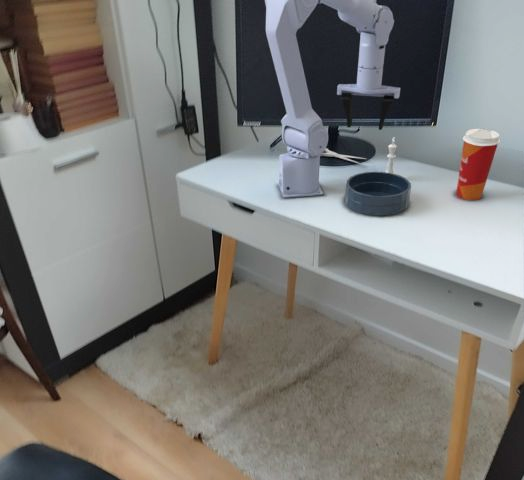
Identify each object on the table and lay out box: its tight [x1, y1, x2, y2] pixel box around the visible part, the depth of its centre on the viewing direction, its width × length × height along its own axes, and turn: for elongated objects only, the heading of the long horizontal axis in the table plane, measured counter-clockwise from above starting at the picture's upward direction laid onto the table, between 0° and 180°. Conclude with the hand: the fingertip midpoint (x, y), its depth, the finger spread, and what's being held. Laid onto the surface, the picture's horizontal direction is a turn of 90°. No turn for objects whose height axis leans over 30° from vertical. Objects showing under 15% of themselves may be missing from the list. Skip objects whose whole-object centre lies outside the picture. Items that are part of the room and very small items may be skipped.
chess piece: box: [384, 136, 399, 175], centre depth 132 cm, size 5×5×10 cm
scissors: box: [320, 147, 366, 165], centre depth 147 cm, size 11×1×20 cm
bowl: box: [344, 171, 412, 216], centre depth 123 cm, size 14×14×4 cm
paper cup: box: [456, 128, 501, 201], centre depth 122 cm, size 8×8×14 cm
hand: (364, 127), depth 134 cm, fingers open, 7 cm apart
